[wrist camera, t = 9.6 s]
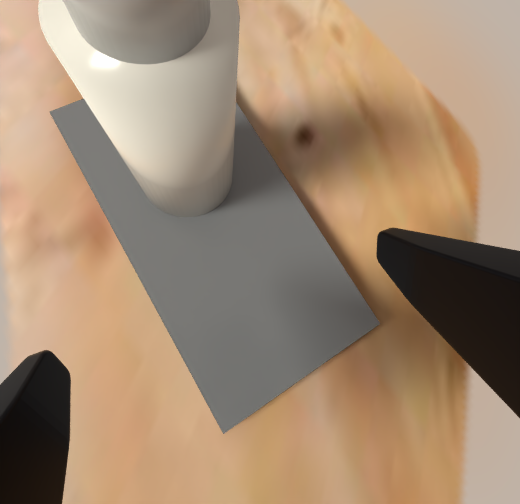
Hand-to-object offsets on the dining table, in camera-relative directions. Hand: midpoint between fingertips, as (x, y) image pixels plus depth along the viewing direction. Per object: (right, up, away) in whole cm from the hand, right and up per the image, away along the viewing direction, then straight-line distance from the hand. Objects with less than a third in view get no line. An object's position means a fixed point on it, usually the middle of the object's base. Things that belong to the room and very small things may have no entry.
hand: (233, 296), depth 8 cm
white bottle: (-3, +6, +9) cm, 11 cm away
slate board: (-2, +3, +10) cm, 11 cm away
